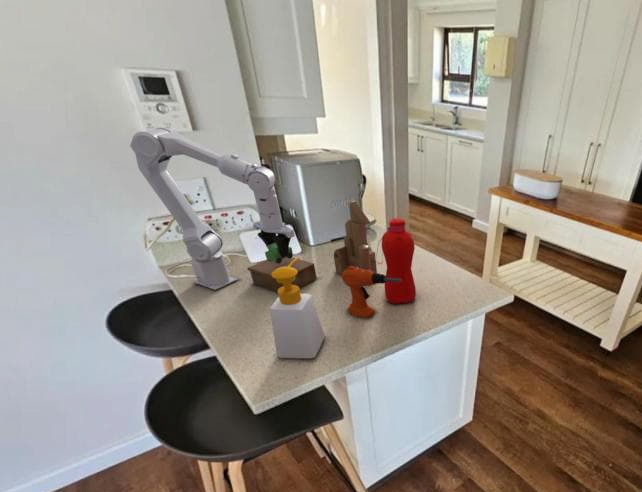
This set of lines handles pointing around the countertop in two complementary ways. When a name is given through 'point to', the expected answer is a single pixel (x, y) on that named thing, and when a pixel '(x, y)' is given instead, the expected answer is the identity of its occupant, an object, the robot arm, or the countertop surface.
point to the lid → (270, 266)
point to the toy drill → (362, 289)
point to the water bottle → (398, 262)
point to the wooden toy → (355, 244)
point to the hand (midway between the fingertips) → (279, 254)
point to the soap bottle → (294, 318)
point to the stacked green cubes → (276, 253)
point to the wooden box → (272, 284)
